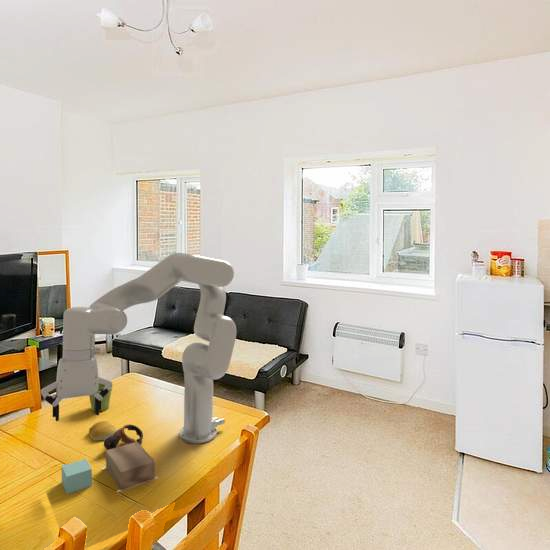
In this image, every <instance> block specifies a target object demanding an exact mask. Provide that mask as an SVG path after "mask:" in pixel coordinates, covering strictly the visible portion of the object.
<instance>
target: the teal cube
mask: <svg viewBox="0 0 550 550" xmlns="http://www.w3.org/2000/svg"><path fill="white" fill-rule="evenodd" d="M92 474H93V469H92V467H91V465H90V464H89V462H88V460H87V459H86V458H83V459H81V460H77V461H74V462H70V463H67V464H63V465H61V484H62V486H63V488H64V491H65V493H66V495H68V494H72V493H74V492H77V491H81V490H82V489H86V488H89V487H92V486H93V475H92Z"/></svg>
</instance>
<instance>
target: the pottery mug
mask: <svg viewBox="0 0 550 550" xmlns="http://www.w3.org/2000/svg"><path fill="white" fill-rule="evenodd" d="M126 429H127V431H134V432H135V433H136V435H137V436H138V437H139V438H138V439H136V441H135V439H134V438H132V437H130V436H128V435H127V434H126V432H125V430H126ZM143 438H144V434H143V431H142V430H141V428H140V427H139V426H136V425H134V424H124V425H123V426H122V427H121V428H119V429H117V430H116V432H115V433H114V435H113V436H110V437H108V438H107V439H106V440H103V447H104V448H105V449H106V450H110V449H113V448H117V447H118V446H117V445H119V443H120V442H123V443H124V444H125V445H127V444H130V443H134V442H138V443H139V444H140V445H141V446H142V444H143Z"/></svg>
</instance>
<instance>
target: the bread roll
mask: <svg viewBox="0 0 550 550" xmlns="http://www.w3.org/2000/svg"><path fill="white" fill-rule="evenodd" d="M117 430H118V429H117V427H116V426H114V424H113V423H112V422H110V421H107V420H102V421H101V420H100V421H98V422H95V423H94V424H93V425H91V427H90V428H89V430H88V434H89V437H91V439H92V440H93V441H105V440H106V439H107V438H108V437H110V436H113V435H114V433H115V432H116V431H117Z"/></svg>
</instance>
